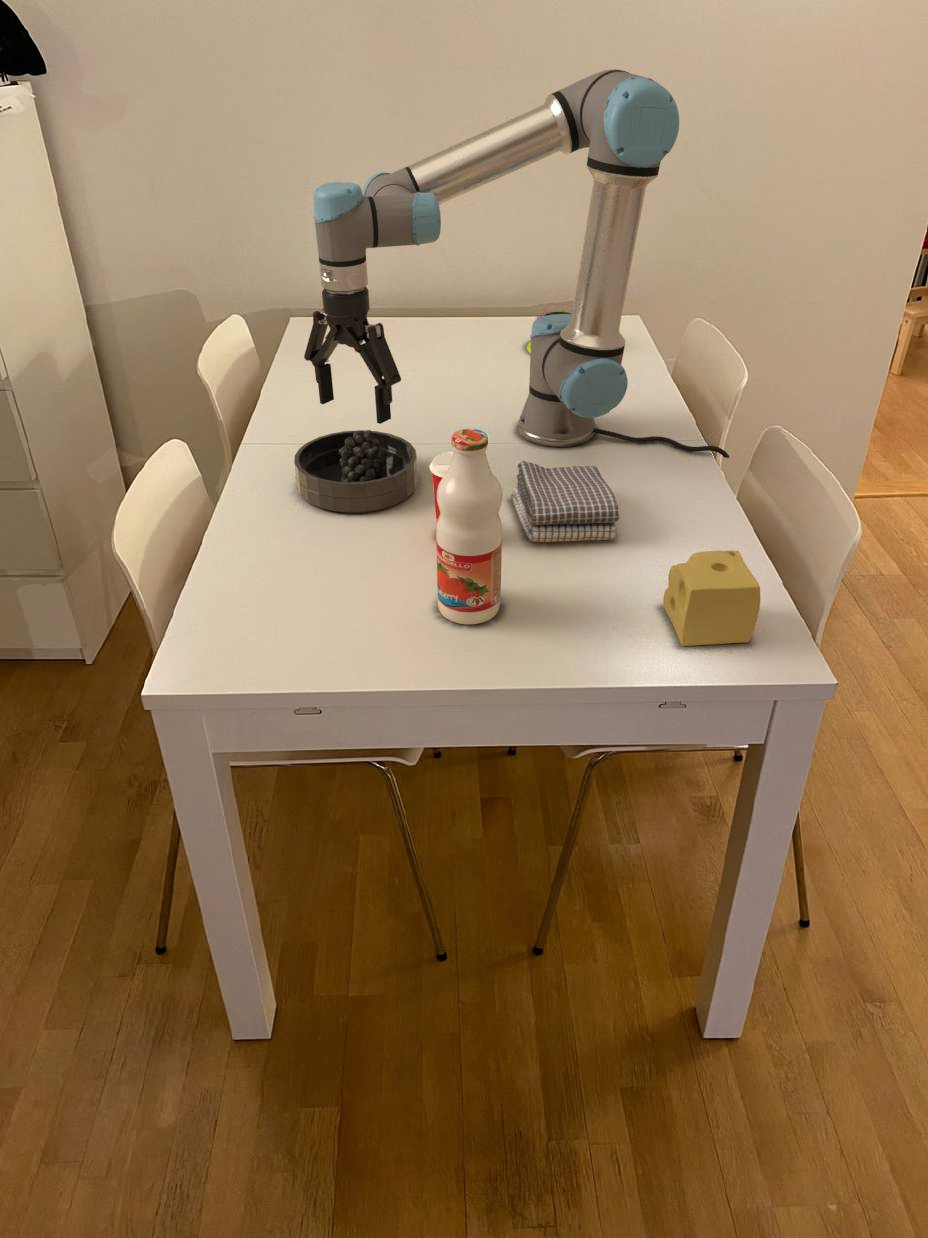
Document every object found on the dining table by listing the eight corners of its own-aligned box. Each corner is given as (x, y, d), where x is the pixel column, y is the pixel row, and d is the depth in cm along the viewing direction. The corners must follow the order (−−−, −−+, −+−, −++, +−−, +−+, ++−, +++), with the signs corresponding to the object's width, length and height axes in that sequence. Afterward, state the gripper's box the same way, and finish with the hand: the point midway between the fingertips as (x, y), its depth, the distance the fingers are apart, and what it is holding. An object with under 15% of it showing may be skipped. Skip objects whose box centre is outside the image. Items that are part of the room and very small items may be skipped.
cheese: (661, 607, 149) (669, 550, 143) (731, 604, 150) (742, 547, 144) (679, 649, 140) (688, 590, 135) (754, 645, 141) (766, 586, 135)
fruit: (361, 457, 168) (378, 418, 180) (317, 468, 171) (337, 429, 183) (379, 500, 173) (395, 460, 185) (336, 510, 175) (355, 470, 187)
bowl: (441, 481, 182) (440, 451, 179) (360, 527, 168) (357, 496, 165) (355, 449, 193) (353, 420, 190) (272, 490, 179) (269, 460, 176)
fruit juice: (513, 608, 149) (519, 436, 132) (467, 634, 143) (468, 457, 127) (470, 583, 154) (470, 415, 138) (424, 607, 149) (419, 434, 133)
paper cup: (483, 529, 168) (484, 453, 160) (468, 551, 162) (469, 474, 154) (440, 521, 170) (438, 446, 162) (424, 543, 164) (421, 466, 156)
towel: (529, 550, 162) (531, 507, 158) (509, 497, 177) (510, 457, 173) (619, 543, 164) (624, 501, 160) (592, 491, 179) (596, 451, 174)
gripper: (274, 279, 164) (289, 400, 176) (386, 308, 151) (394, 436, 164) (307, 268, 169) (319, 387, 181) (418, 296, 156) (423, 421, 168)
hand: (354, 411), depth 172 cm, fingers open, 13 cm apart
